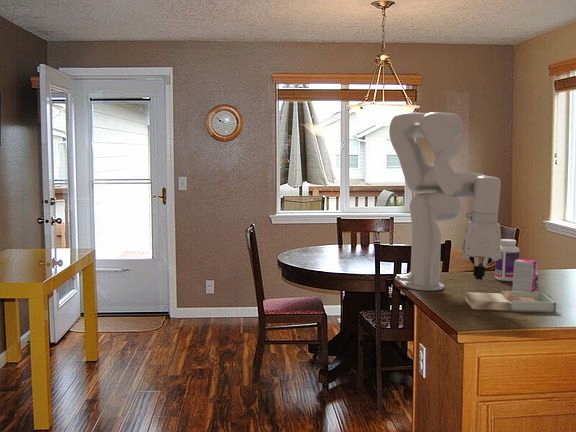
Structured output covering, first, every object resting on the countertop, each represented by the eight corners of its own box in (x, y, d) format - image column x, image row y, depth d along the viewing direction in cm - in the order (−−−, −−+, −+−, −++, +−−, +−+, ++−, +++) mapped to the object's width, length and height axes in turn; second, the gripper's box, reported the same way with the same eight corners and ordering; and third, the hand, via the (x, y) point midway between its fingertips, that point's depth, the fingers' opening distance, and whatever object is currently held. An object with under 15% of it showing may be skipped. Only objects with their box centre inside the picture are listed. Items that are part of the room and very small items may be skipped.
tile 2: (535, 300, 193) (535, 306, 193) (532, 297, 197) (532, 303, 197) (521, 300, 193) (521, 306, 193) (518, 297, 197) (518, 303, 197)
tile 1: (506, 298, 194) (509, 293, 193) (503, 295, 197) (506, 290, 197) (517, 306, 193) (521, 301, 193) (514, 303, 197) (518, 298, 197)
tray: (512, 311, 189) (512, 301, 189) (501, 300, 203) (501, 290, 202) (555, 313, 188) (556, 302, 187) (541, 302, 202) (541, 292, 201)
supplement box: (530, 298, 206) (532, 262, 205) (511, 296, 209) (513, 260, 208) (534, 295, 211) (536, 260, 210) (515, 293, 214) (517, 258, 213)
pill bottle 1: (520, 279, 238) (522, 239, 236) (515, 283, 231) (517, 242, 230) (497, 276, 242) (499, 237, 241) (491, 280, 235) (493, 240, 234)
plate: (472, 309, 191) (472, 300, 191) (465, 299, 203) (465, 292, 202) (509, 310, 190) (510, 302, 190) (500, 301, 202) (500, 293, 201)
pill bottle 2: (538, 293, 214) (540, 266, 213) (522, 292, 215) (523, 265, 214) (536, 290, 219) (537, 263, 219) (519, 289, 220) (521, 262, 220)
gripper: (460, 218, 191) (454, 280, 194) (513, 221, 190) (506, 283, 193) (456, 214, 199) (451, 274, 201) (507, 217, 197) (501, 277, 200)
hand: (478, 278), depth 197 cm, fingers closed
